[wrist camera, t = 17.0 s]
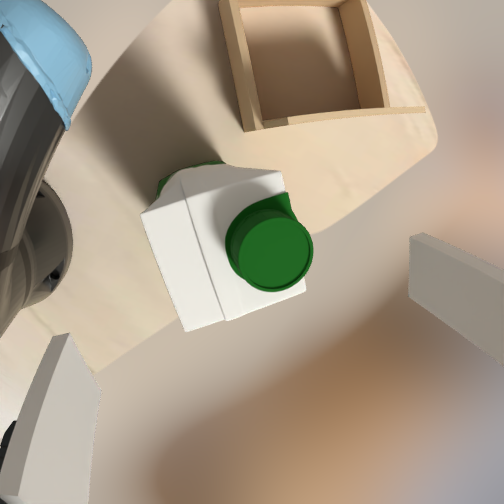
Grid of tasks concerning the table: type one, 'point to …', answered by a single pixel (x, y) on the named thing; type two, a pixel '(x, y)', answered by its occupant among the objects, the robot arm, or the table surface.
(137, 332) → the table surface
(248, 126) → the wooden tray box
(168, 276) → the soya milk
